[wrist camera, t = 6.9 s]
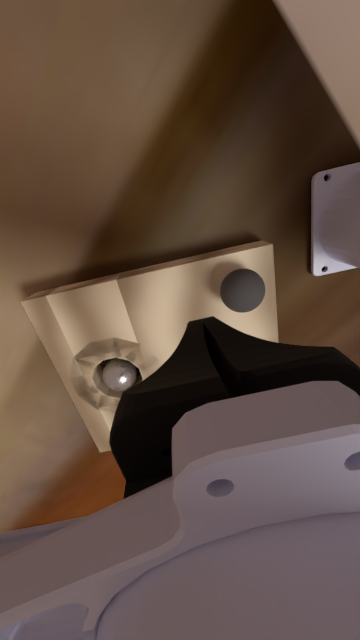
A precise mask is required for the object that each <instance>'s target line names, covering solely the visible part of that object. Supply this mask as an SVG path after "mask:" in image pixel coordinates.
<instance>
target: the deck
mask: <svg viewBox="0 0 360 640" xmlns="http://www.w3.org/2000/svg"><path fill="white" fill-rule="evenodd" d="M237 269H250V270H253V271H255V272H256V273H258V274H259V275H260V276H261V278H262V279H263V281H264V284H265V296H264V299H263V301H262V302H261V304H260V305H259V306H258V307H257V308H255V309H254V310H252V311H249V312H245V313H239V312H235V311H232V310H230V309H229V308H228V307H227V306H226V305H225V304H224V303H223V301H222V299H221V296H220V287H221V283H222V281H223V279H224V278H225V277H226V276H227V275H228V274H229V273H230V272H232V271H234V270H237ZM21 304H22V305H23V307H24V309H25V311H26V313H27V315H28V317H29V319H30V321H31V322H32V324H33V326H34V328H35V330H36V332H37V334H38V336H39V338H40V339H41V341H42V343H43V345H44V347H45V349H46V351H47V353H48V355H49V356H50V358H51V360H52V362H53V364H54V366H55V368H56V370H57V372H58V373H59V375H60V377H61V379H62V381H63V383H64V385H65V387H66V389H67V391H68V392H69V394H70V396H71V398H72V400H73V402H74V404H75V406H76V408H77V409H78V411H79V413H80V415H81V417H82V419H83V421H84V423H85V425H86V426H87V428H88V430H89V432H90V434H91V436H92V438H93V440H94V442H95V443H96V445H97V447H98V449H99V451H100V452H105V451H110V450H111V448H110V444H109V438H110V431H111V427H112V423H113V419H114V415H115V412H116V409H117V406H118V403H119V401H120V398H121V396H122V393H123V392H124V391H126V390H128V389H130V388H131V387H133V386H135V385H136V384H138V383H140V382H141V381H143V380H144V379H146V378H147V377H149V376H150V375H151V374H153V373H154V372H155V371H156V370H157V369H159V368H160V367H161V366H162V365H163V364H164V363H165V362H166V361H167V360H168V359H169V358H170V356H171V355H172V354H173V352H174V351H175V349H176V348H177V346H178V344H179V343H180V341H181V339H182V337H183V335H184V332H185V330H186V327H187V324H188V322H189V321H193V320H198V319H202V318H207V317H211V316H214V317H216V318H217V319H219V320H220V321H222V322H224V323H225V324H227V325H229V326H231V327H232V328H234V329H236V330H239V331H241V332H243V333H245V334H248V335H251V336H254V337H257V338H260V339H264V340H267V341H272V342H277V343H278V326H277V308H276V291H275V274H274V256H273V244H271V243H268V242H265V241H262V240H261V241H256V242H252V243H248V244H243V245H239V246H234V247H230V248H226V249H221V250H217V251H213V252H208V253H204V254H200V255H195V256H191V257H187V258H182V259H178V260H174V261H169V262H165V263H161V264H156V265H152V266H148V267H143V268H139V269H135V270H130V271H126V272H122V273H117V274H113V275H109V276H104V277H100V278H96V279H91V280H87V281H82V282H78V283H74V284H69V285H65V286H61V287H56V288H52V289H48V290H43V291H39V292H36V293H34V294H33V295H31V296H29V297H28V298H26V299H24V300H23V301H21ZM112 358H119V359H124V360H128V361H130V362H131V363H133V364H134V365H135V366H136V367H137V368H139V370H140V373H141V375H140V376H138V377H137V378H136V380H135V382H134V384H133V385H132V386H131V387H130V388H128V389H126V390H124V391H114V390H111V389H110V388H108V387H107V386H106V384H105V383H104V380H103V370H102V367H101V365H100V363H101V362H102V361H103V360H107V359H112Z"/></svg>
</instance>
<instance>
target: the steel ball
mask: <svg viewBox="0 0 360 640" xmlns="http://www.w3.org/2000/svg"><path fill="white" fill-rule="evenodd" d="M136 376H137V371H136V367H135V365H134V364H133V363H131V362H130V361H128V360H124V359H119V358H114V359H112V360H111V361H109V362H108V363H107V364H106V366H105V367H104V370H103V380H104V383H105V384H106V386H107V387H108V388H110V389H111V390H114V391H124V390H126V389H128V388H130V387H131V386H132V385H133V384H134V382H135V380H136Z"/></svg>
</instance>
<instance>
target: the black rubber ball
mask: <svg viewBox="0 0 360 640" xmlns="http://www.w3.org/2000/svg"><path fill="white" fill-rule="evenodd" d="M220 296H221V299H222V301H223V303H224V304H225V305H226V306H227V307H228V308H229V309H230V310H232V311H235V312H239V313H245V312H249V311H252V310H254V309H255V308H257V307H258V306H259V305H260V304H261V302H262V301H263V299H264V296H265V284H264V281H263V279H262V278H261V276H260V275H259V274H258V273H256V272H255V271H253V270H250V269H237V270H234V271H232V272H230V273H229V274H228V275H227V276H226V277H225V278H224V279H223V281H222V283H221V287H220Z"/></svg>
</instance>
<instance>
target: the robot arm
mask: <svg viewBox="0 0 360 640" xmlns="http://www.w3.org/2000/svg"><path fill="white" fill-rule="evenodd" d="M326 174H327V175H328V179H327V181H324V176H325V175H326ZM324 266H325V270H324V271H322V268H323V267H324ZM353 268H360V162H358V163H354V164H350V165H346V166H342V167H338V168H333V169H329V170H325V171H321V172H318V173H316V174H315V175H314V176H313V177H312V181H311V273H312V274H313V275H315V276H321V275H325V274H330V273H335V272H339V271H344V270H348V269H353ZM109 444H110V448H111V451H112V453H113V455H114V457H115V459H116V461H117V463H118V465H119V467H120V469H121V472H122V474H123V476H124V478H125V480H126V486H125V493H124V499H123V500H121V501H119V502H117V503H115V504H112V505H110V506H108V507H106V508H104V509H102V510H100V511H98V512H96V513H94V514H91V515H89V516H86V517H81V518H76V519H71V520H66V521H60V522H55V523H50V524H45V525H40V526H35V527H30V528H25V529H20V530H14V531H9V532H4V533H0V640H360V368H359V367H358V366H357V365H356V364H355V363H354V362H353V361H351V360H350V359H349V358H348V357H346V356H345V355H344V354H343V353H341V352H340V351H339V350H337V349H336V348H334V347H317V346H299V345H289V344H282V343H277V342H272V341H267V340H264V339H260V338H257V337H254V336H251V335H248V334H245V333H243V332H241V331H239V330H236V329H234V328H232V327H231V326H229V325H227V324H225V323H224V322H222V321H220V320H219V319H217V318H216V317H214V316H211V317H207V318H202V319H198V320H193V321H189V322H188V324H187V327H186V330H185V332H184V335H183V337H182V339H181V341H180V343H179V344H178V346H177V348H176V349H175V351H174V352H173V354H172V355H171V356H170V358H169V359H168V360H167V361H166V362H165V363H164V364H163V365H162V366H161V367H160V368H159V369H157V370H156V371H155V372H154V373H153V374H151V375H150V376H149V377H147V378H146V379H144V380H143V381H141V382H140V383H138V384H136V385H135V386H133V387H131V388H130V389H128V390H126V391H124V392H123V393H122V396H121V398H120V401H119V403H118V406H117V409H116V412H115V415H114V419H113V423H112V427H111V431H110V438H109Z"/></svg>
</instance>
